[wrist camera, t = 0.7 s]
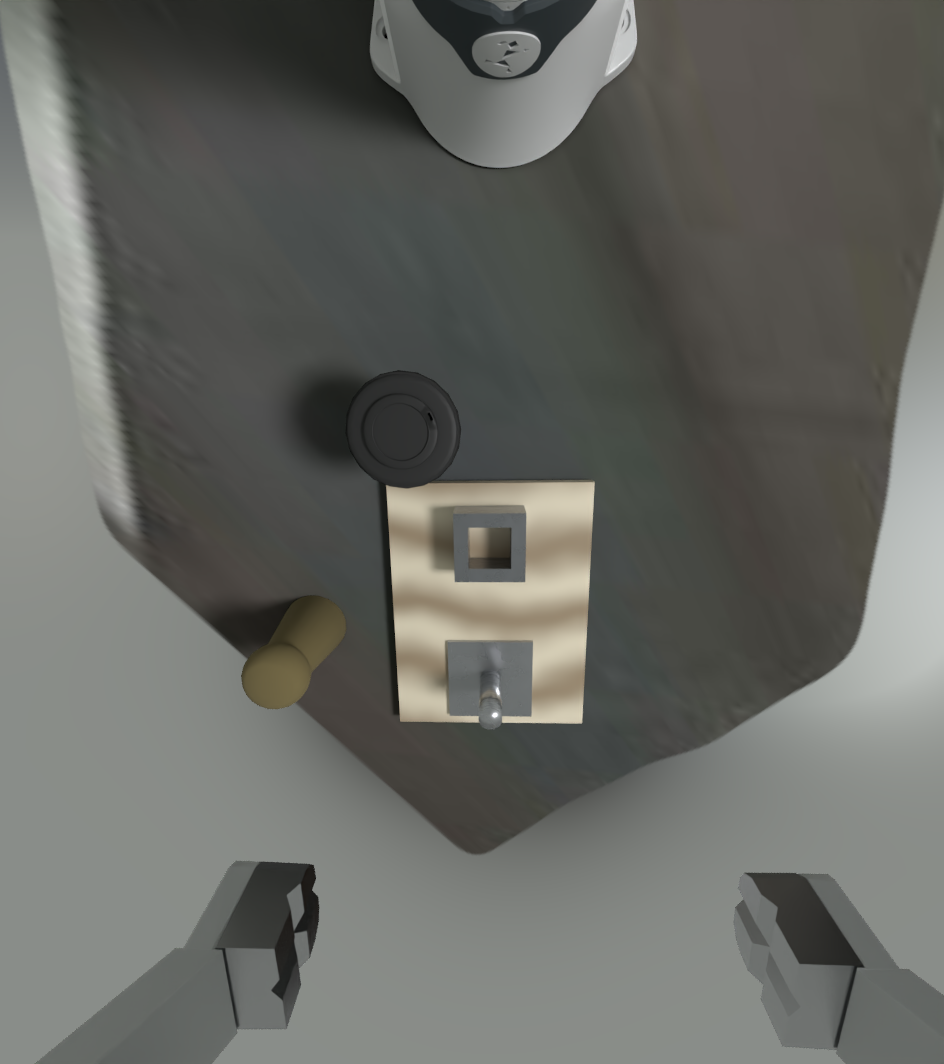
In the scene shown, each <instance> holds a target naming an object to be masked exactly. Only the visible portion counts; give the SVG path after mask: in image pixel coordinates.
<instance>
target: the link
mask: <svg viewBox="0 0 944 1064" xmlns="http://www.w3.org/2000/svg"><path fill="white" fill-rule="evenodd" d="M469 528H510V558H470V532H469ZM453 534H454V576H455V582H525V572H526V510H525V507H524V505H497V506H455V509H454V512H453Z"/></svg>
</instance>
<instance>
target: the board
mask: <svg viewBox="0 0 944 1064" xmlns="http://www.w3.org/2000/svg"><path fill="white" fill-rule="evenodd" d="M594 483H595V482H594V481H593V480H501V481H432V482H430V483H428V484H426V485H424V486H419V487H414V488H408V489H405V488H398V487H390V486H387V485H386V489H387V506H388V523H389V540H390V557H391V574H392V590H393V607H394V624H395V641H396V658H397V675H398V691H399V708H400V722H479V716H450V709H449V674H448V640H533V669H532V716H531V717H519V716H502V723H582V712H583V693H584V674H585V655H586V636H587V617H588V598H589V579H590V559H591V540H592V521H593V502H594ZM497 505H524V507H525V510H526V572H525V582H455V576H454V534H453V512H454V509H455V506H497ZM469 532H470V558H510V528H469Z"/></svg>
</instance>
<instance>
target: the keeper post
mask: <svg viewBox="0 0 944 1064" xmlns="http://www.w3.org/2000/svg"><path fill="white" fill-rule="evenodd" d="M532 669H533V640H448V674H449V709H450V716H479V723H480V725H481V726H482V727H484V728H486V729H495V728H497V727H499V726H500V725H501V723H502V716H519V717H531V716H532Z"/></svg>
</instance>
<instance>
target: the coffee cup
mask: <svg viewBox="0 0 944 1064" xmlns="http://www.w3.org/2000/svg"><path fill="white" fill-rule="evenodd" d="M460 435H461V426H460V421H459V416H458V411H457V409H456V407H455V405H454V404H453V402H452V400H451V398H450V396H449V394H448V393H447V392H446V391H444V390H443V389H442V388H441V387H440V386H439V385H438V384H437V383H436V382H435V381H434V380H432V379H429V378H427V377H425V376H423V375H421V374H419V373H416V372H408V371H400V370H398V371H393V372H388V373H384V374H380V375H378V376H377V377H375V378H373V379H372V380H370V381H368V382H367V383H365V384H364V385H363V386H362V388H361V389H360V390H359V391H358V392H357V394H356V395H355V396H354V397H353V399H352V402H351V405H350V407H349V410H348V412H347V416H346V437H347V441H348V445H349V449H350V452H351V453H352V455H353V457H354V458H355V460H356V462H357V463H358V465H359V466H360V468H362V469H363V470H364V471H365V472H366V473H367V474H368V475H369V476H371V477H372V478H373V479H374V480H377V481H379V482H381V483H383V484H385V485H387V486H390V487H398V488H405V489H408V488H414V487H419V486H424V485H426V484H428V483H430V482H432V481H433V480H435V479H437V478H439V477H440V476H441V475H442V474H443V473H444V472H445V471H446V470H447V468H448V467H449V466H450V465H451V464H452V462H453V460H454V458H455V455H456V453H457V451H458V449H459V444H460Z"/></svg>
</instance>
